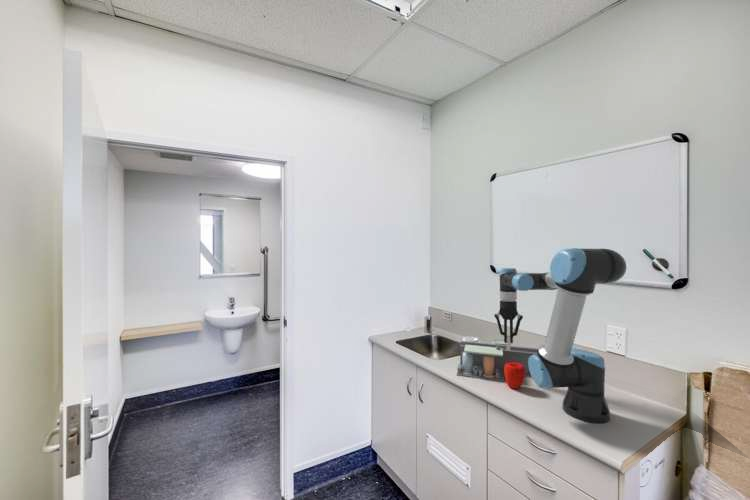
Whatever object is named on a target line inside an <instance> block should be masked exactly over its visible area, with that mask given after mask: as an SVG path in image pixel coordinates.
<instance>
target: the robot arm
mask: <svg viewBox="0 0 750 500" xmlns="http://www.w3.org/2000/svg"><path fill="white" fill-rule="evenodd" d="M626 272H627V263H626V260H625V258H624V257H623V256H622V255H621V254H620V253H618V252H617V251H616V250H613V249H610V248H577V247H571V248H564V249H561V250H559V251H558V252H557V253H555V254H554V256H553V257H552V259H551V262H550V265H549V271H547V272H541V273H540V272H539V273H538V272H537V273H536V272H535V273H534V272H532V273H531V272H529V273H528V272H527V273H525V272H522V273H521V272H517V268H514V267H502V268H500V269H499V310H498V312H497V313H494V314H493V315H494V316H493V317H495V319H496V322H497V325H498V331H499V333H500V335H502V336H503V337H504V338H503V340H504V342H505V343H507V351H510V345H511V344H513V343H514V337H515V336H518V333H519V329H520V324H521V321H522V320H523V318H524V316H523V315H522V314H520V313H519V312H518V309H517V308H518V304H517V303H518V302H517V299H518V295H517V294H518V292H517V291H520V292H522V291H523V292H526V291H540V290H541V291H548V290H549V291H554V290H555V291H556V290H557V293H556V295H555V300H554V305H553V309H552V311H551V317H550V320H549V325H548V329H547V333H546V335H545V340H544V343H543V344H542V345H540V346H539V347H538V353H537V355H535V354H534V355H532V356H530V357H529V360H528V366H529V371H530V376H531V378H532V380H533V381H534V383H535V384H536V385H537V386H538V387H540V388H546V389H547V388H548V389H555V388H567V390H566V393H565V395H564V397H563V399H562V410H563V411H564V412H565V413H566V414H567V415H569V416H571V417H573V418H575V419H578V420H580V421H584V422H587V423H593V424H605V423H608V422H610V420H611V411H610V408H609V406H608V403H607V400H606V396H605V381H606V380H605V378H606V377H605V376H606V373H605V372H606V366H605V359H604V357H602V356H601V355H600V354H597V353H595V352H592V351H588V350H584V349H579V348H573V346H574V342H575V339H576V336H577V335H576V334H577V332H578V328H579V324H580V321H581V317H582V314H583V310H584V307H585V303H586V299H587V296H590V295H591V294H593V293H594V291H595V288H596V285H597V284H612V283H614V282H618V281H619V280H621V278H623V277H624V275H625V274H626ZM500 316H501V317H502V319H503V327H502V324H501V320H500ZM515 318H517V320H516V323H515V328H514V320H515ZM508 321H509V335H508Z"/></svg>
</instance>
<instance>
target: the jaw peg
mask: <svg viewBox="0 0 750 500" xmlns="http://www.w3.org/2000/svg"><path fill="white" fill-rule="evenodd" d="M483 374H484V375H486V376H494V356H493V355H485V354H484V355H483Z"/></svg>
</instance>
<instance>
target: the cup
mask: <svg viewBox="0 0 750 500" xmlns="http://www.w3.org/2000/svg"><path fill="white" fill-rule="evenodd" d="M462 341H468V342H478V343H483V341H482V337H474V336H463V338H462Z"/></svg>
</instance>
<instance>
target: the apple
mask: <svg viewBox="0 0 750 500" xmlns="http://www.w3.org/2000/svg"><path fill="white" fill-rule="evenodd" d="M503 375H504V379H505V382H506V385H507V386H508V387H509V389H512V390H513V389H519V388H521V387H522V386H523V383H524V381H525V379H526V373H525V368H524V366H523V365H521V364H519V363H515V362H511V363H507V364H505V367H504V370H503Z"/></svg>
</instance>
